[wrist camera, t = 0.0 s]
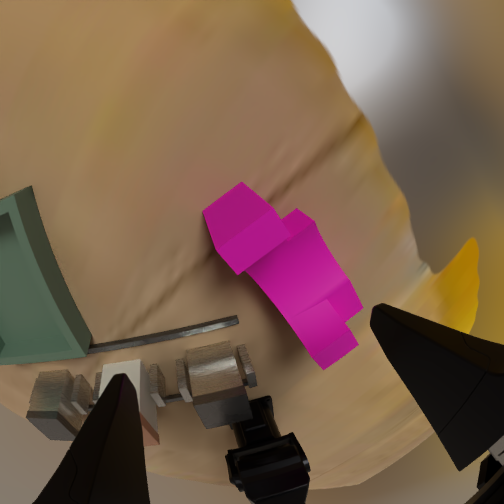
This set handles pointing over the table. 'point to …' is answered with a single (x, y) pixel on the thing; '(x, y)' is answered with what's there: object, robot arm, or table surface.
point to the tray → (34, 291)
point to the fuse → (145, 400)
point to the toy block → (287, 269)
